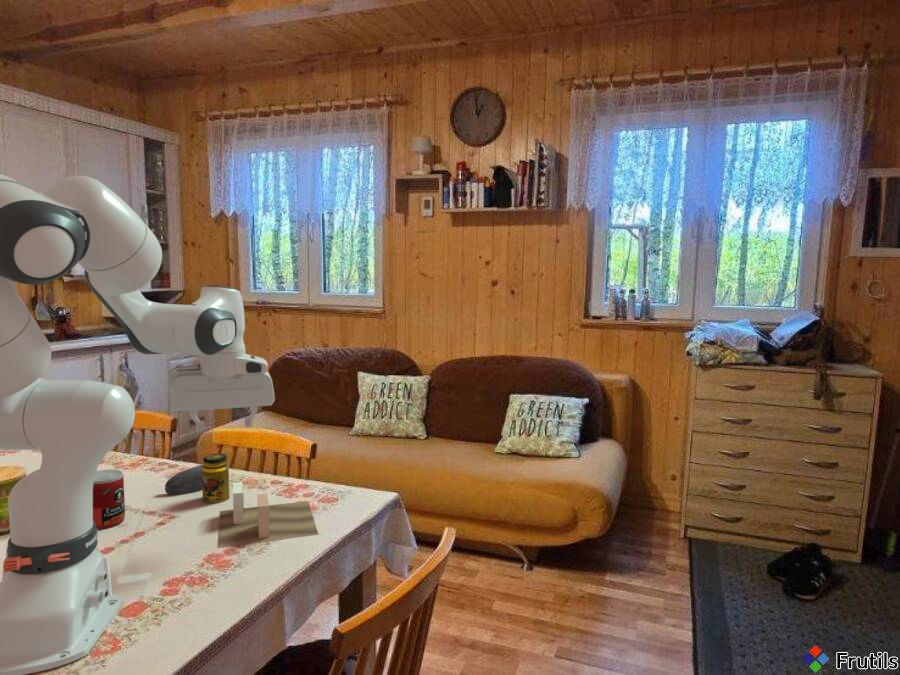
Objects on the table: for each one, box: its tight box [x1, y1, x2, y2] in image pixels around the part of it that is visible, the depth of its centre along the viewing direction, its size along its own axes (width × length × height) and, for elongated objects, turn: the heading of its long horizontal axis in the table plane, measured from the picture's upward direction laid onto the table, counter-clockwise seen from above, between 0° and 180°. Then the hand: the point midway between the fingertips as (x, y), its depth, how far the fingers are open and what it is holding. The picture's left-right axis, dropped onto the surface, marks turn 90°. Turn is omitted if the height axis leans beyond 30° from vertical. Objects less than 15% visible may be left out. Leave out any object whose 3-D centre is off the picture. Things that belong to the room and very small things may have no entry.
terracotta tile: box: [256, 493, 270, 539], centre depth 124 cm, size 7×2×7 cm, turn 20°
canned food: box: [93, 469, 126, 530], centre depth 129 cm, size 8×8×11 cm
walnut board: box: [217, 500, 319, 549], centre depth 129 cm, size 19×20×1 cm
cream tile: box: [232, 481, 245, 524], centre depth 130 cm, size 7×2×7 cm, turn 20°
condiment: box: [201, 452, 230, 505], centre depth 141 cm, size 7×8×12 cm
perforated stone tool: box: [164, 464, 204, 496], centre depth 147 cm, size 15×5×7 cm, turn 131°
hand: (224, 428), depth 121 cm, fingers open, 8 cm apart
